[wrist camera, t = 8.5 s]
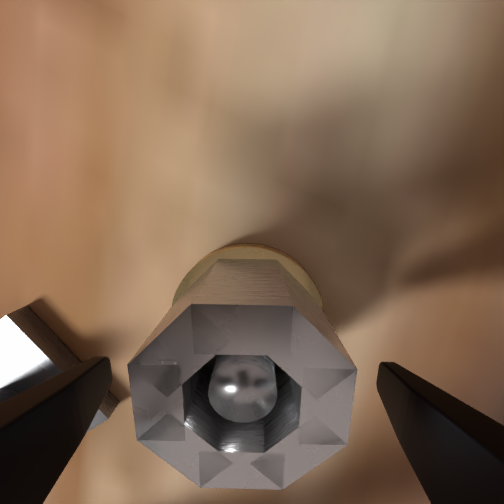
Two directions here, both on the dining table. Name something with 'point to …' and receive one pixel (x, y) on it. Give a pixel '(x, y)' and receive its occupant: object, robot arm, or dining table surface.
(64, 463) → the robot arm
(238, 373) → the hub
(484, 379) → the dining table surface
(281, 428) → the collar
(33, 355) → the stand
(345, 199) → the dining table surface
